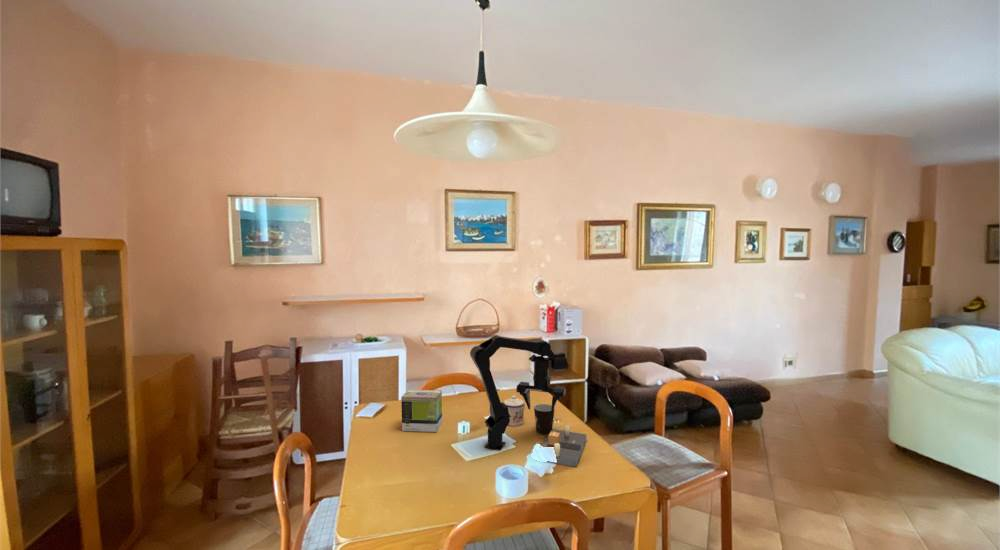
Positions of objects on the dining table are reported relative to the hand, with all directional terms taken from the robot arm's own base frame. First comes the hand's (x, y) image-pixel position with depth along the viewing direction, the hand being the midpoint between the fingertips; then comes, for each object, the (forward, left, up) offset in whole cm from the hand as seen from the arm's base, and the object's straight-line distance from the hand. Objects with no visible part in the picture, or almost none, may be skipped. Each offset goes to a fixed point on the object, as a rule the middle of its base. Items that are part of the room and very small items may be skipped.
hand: (540, 410), depth 164 cm
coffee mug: (+9, +1, -12) cm, 15 cm away
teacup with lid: (+13, +15, -12) cm, 23 cm away
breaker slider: (-7, -7, -9) cm, 14 cm away
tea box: (-7, +50, -12) cm, 52 cm away
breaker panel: (-6, -10, -12) cm, 16 cm away
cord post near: (-16, -10, -9) cm, 21 cm away
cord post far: (+1, -10, -9) cm, 14 cm away
